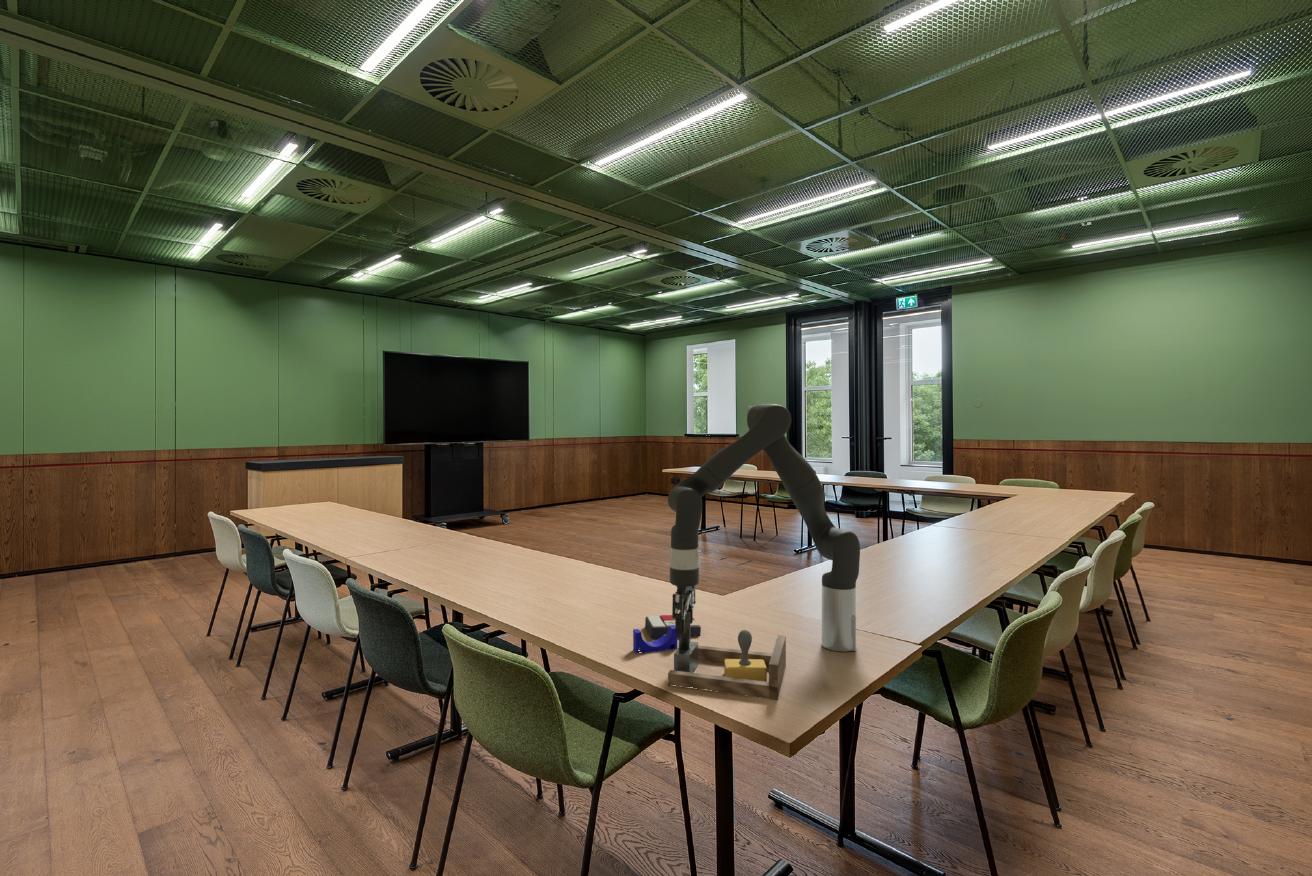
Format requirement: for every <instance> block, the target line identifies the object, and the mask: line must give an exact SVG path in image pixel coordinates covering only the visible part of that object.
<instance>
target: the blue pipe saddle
mask: <svg viewBox="0 0 1312 876" xmlns="http://www.w3.org/2000/svg"><path fill="white" fill-rule="evenodd" d="M632 639H633V642H632V649H633V650H632V651H635V652H636V653H639V652H642V653H641V654H645V652H647V653H653V652H662V651H671V650H677V649H678V637H677V634H676V633H675V626H674V625H669V629H668V632H667V634H664V635H663V636H662V637H661V638H659V639H654V640H652V641H651V642H648V641H646V640H644V639H643V635H642V631H641V630H640V629H639V628H633V629H632ZM638 650H640V651H638ZM635 652H634V653H635ZM636 653H635V654H636ZM639 654H640V653H639Z"/></svg>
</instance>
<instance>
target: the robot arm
mask: <svg viewBox="0 0 1312 876" xmlns="http://www.w3.org/2000/svg"><path fill="white" fill-rule="evenodd" d="M746 424H747V425H746V426H747V427H748V431H747V432H746V433H745V434H743V435H742V436H740V437H739V438H738V439H737V440H735V441H733V442H732V443H730V444H728V445H727V446H724V448H722V449H720V450H719V451H717V452H716V453H714V454H713V455H712V456H711V457H710V458H709V459H708V460H706V462H705V463H704V464H702V465H701V466H700V467H699V468H698V469H697V470H696V471H695V472H693V473H692V474H690V475H689V476H688V477H686V478H684V479H682V480H681V481H679V483H677V485H675V486H674V487H673V488H672V489H671V491H670V492H669V494H668V497H667V504H668V507H669V508H670V509H671V510H672V511H674V512H675V521H674V522H675V524H673V526H672V527H671V530H670V553H669V583H670V584H671V585H672V586H675V587H676V591H675V592H674V593H672V602H671V603H672V605H671V606H672V608H671V609H672V612H671V613H672V614H671V615H672V618H674V619H675V633H676V634H684V632H685V613H686V611H689V612H690V624H692V622H693V618H694V608H695V605H696V586H697V585H699V584H700V554H699V553H700V551H699V527H700V523H701V520H702V519H701V518H702V514H703V499H702V497H704V496H705V495H707V494H709V493H713V492H715V491H716V490H717V489H719V488H720V487H721V486H722V485H723V484H724V483H726V481H727V480H729V478H730V477H732V476H733V474H734V473H736V472H737V471H738V470H739V469H740V468H741V467H743V466H744V465H745V464H746V463H747V462H748V461H750V460H751V459H753V458H754V457H755V456H756V455H757V454H759V453H760V452H761V451H764V453H765V454H766V456H767V457H768V459H769V461H770V463H771V464H772V467H773V469H774V471H775V472H776V474H777V475H778V477H779V479H780V481H781V483H782V485H783V487H784V489H785V490H786V492H787V494H788V496H789V497H790V499H791V500H792V502H793V504H794V505H795V508H796V509H797V511H798V513H799V515H800V517H801V518H802V520H803V521H804V523H805V525H806V527H807V529H808V533H809V535H810V536H811V539H812V541H813V543H814V546H815V547H816V550H817V552H818V553H819V554H820V555H821V556H822V557H824V558H825V559H827V560H830V561H831V562H832V563H831V569H830V571H828V572H827V571H826V572H824V573H823V574H822V576H821V646H822V647H823V648H825V649H828V650H831V651H836V652H856V651H857V632H856V631H857V611H856V610H857V606H856V605H857V602H856V599H857V595H856V592H857V591H856V590H857V580H858V578H859V573H860V561H861V560H860V559H861V545H860V540H859V537H858V536H857V534H856V533H855V532H853V531H851V530H847V529H843V528H842V529H841V528H839V527H836V526H835V525H834V523H833V522H832V521H831V519H830V516H829V515H828V513H827V512H826V509H825V489H824V487H823V484H822V482H821V480H820V479H819V476H818V475H817V473H816V471H815V470H814V468H813V467H812V465H811V464H810V463H809V462H808V460H807V459H805V458H804V457H803V456H802V455H801V453H799V452H798V451H797V450H796V449H795V447H793V445H791V443H790V442H789V441H788V439H787V438H786V436H785V434H787V433H788V431H789V430H790V428H791V424H792V416H791V413H790V411H789V410H788V408H787V407H785V406H783V405H781V404H777V403H760V404H755V405H753V406H752V407H751V408H750V409H749V410H748V412H747V415H746ZM679 612H680V614H679Z"/></svg>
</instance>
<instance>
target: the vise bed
mask: <svg viewBox="0 0 1312 876" xmlns="http://www.w3.org/2000/svg"><path fill="white" fill-rule="evenodd" d="M786 640H787V636H786V635H781V634H778V635H777V637H776V641H775V644H774V647H773V650H772V652H762V651H754V650H753V651H752V650H749V651H748V655H747V657H748V659H762V660H764V662H765V665H766V668H768V681H767V682H764V681H756V680H748V679H739V678H731V677H725V676H723V675H715V674H705V673H698V672H693V673H691V672H682V671H674V669H670V670H669V671H668V673H667V686H668V685H676V686H682V687H693V688H697V689H696V690H698V689H707V690H712V691H711V692H713V691H718V692H717V693H721V694H722V693H723V694H728V693H730V694H729V695H737V696H744V695H747V696H746V697H752V698H759V697H761V698H762V699H768V700H776V701H778V700H779V697H780V692H781V688H782V683H783V680H784V675H785V673H786V672H785V671H786V667H787V660H786V659H787V654H786V653H787V644H786V643H787V641H786ZM699 659H700V660H702V661H709V662H711V661H712V662H718V663H724V660H725V659H742V651H741V649H733V648H727V647H725V648H724V647H717V646H709V645H707V646H706V645H699V644H698V660H699ZM700 660H699V661H700ZM682 687H681V688H682Z"/></svg>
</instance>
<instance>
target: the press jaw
mask: <svg viewBox="0 0 1312 876" xmlns="http://www.w3.org/2000/svg"><path fill="white" fill-rule="evenodd" d="M678 614H680V611H678ZM698 645H699V642H698V641H697V642H696V641H691V637H690V612H689V611H686V613H685V632H684V634H679V637H678V647H677V649H675V652H674V653H673V670H674V671H682V672H691V673H694V671H695V669H696V668H697V666H698V665H699V659H698Z"/></svg>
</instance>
